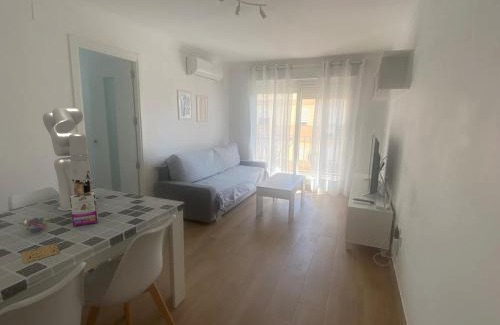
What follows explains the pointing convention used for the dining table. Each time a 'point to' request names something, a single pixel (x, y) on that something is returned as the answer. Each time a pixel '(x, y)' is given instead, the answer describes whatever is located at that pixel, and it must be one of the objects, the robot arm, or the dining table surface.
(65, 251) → the dining table surface
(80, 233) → the dining table surface
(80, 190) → the oak block
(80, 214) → the candy bar box
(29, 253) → the cookie
